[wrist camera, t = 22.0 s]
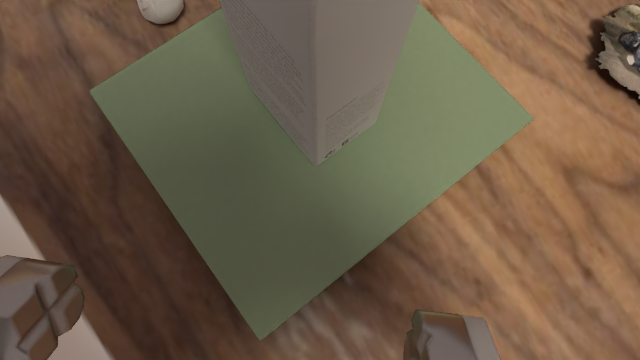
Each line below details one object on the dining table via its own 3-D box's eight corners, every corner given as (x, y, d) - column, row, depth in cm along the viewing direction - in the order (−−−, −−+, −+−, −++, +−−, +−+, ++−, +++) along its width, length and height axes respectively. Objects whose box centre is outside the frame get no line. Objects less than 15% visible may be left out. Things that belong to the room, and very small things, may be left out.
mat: (262, 338, 18) (259, 342, 17) (98, 99, 21) (87, 90, 20) (524, 125, 21) (534, 118, 20) (345, -58, 24) (346, -72, 23)
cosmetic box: (378, 122, 19) (467, -102, 8) (315, 170, 19) (309, 3, 7) (308, 43, 21) (295, -254, 9) (246, 85, 20) (146, -176, 8)
